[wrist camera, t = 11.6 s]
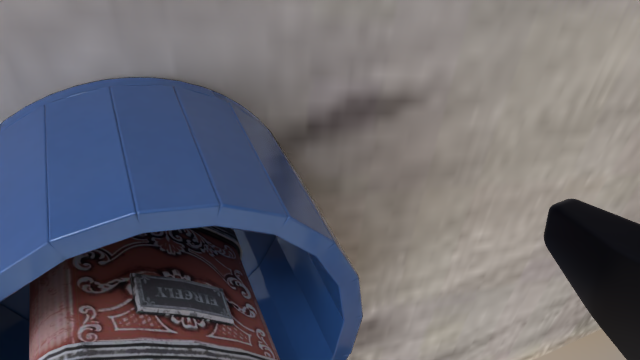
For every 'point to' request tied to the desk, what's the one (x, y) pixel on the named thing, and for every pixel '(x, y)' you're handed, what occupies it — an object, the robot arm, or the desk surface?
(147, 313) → the lighter
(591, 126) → the desk surface
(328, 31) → the desk surface
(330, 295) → the blue round bin
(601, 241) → the robot arm
